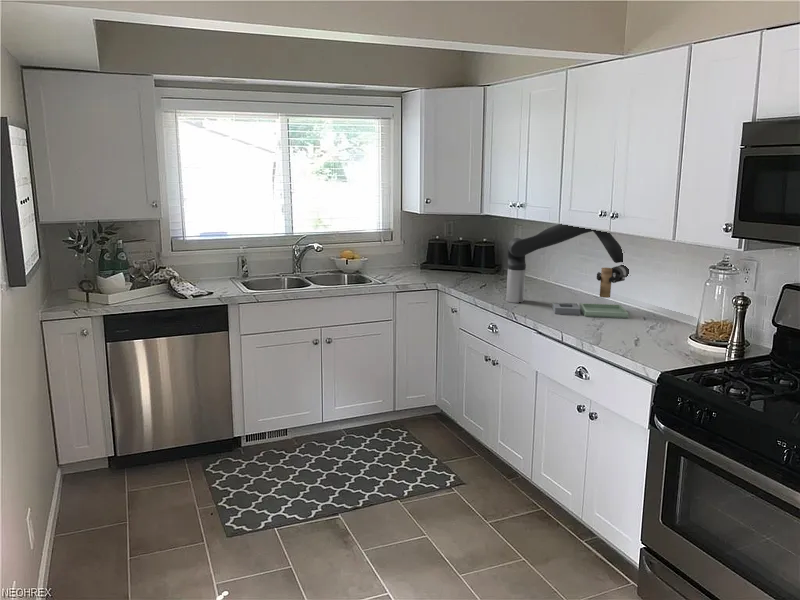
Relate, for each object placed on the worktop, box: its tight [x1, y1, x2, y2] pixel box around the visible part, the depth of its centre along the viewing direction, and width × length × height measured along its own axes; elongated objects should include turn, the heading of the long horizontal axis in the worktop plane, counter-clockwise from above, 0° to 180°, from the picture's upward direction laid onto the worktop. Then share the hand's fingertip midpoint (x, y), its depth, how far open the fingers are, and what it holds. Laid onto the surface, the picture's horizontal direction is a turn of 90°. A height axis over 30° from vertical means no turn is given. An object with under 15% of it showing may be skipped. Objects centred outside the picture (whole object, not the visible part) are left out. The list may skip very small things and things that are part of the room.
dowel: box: [599, 267, 613, 299], centre depth 320 cm, size 5×5×14 cm
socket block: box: [551, 302, 581, 316], centre depth 325 cm, size 12×12×3 cm
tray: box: [579, 302, 629, 319], centre depth 323 cm, size 18×20×2 cm
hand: (604, 279), depth 318 cm, fingers closed on dowel, 5 cm apart
